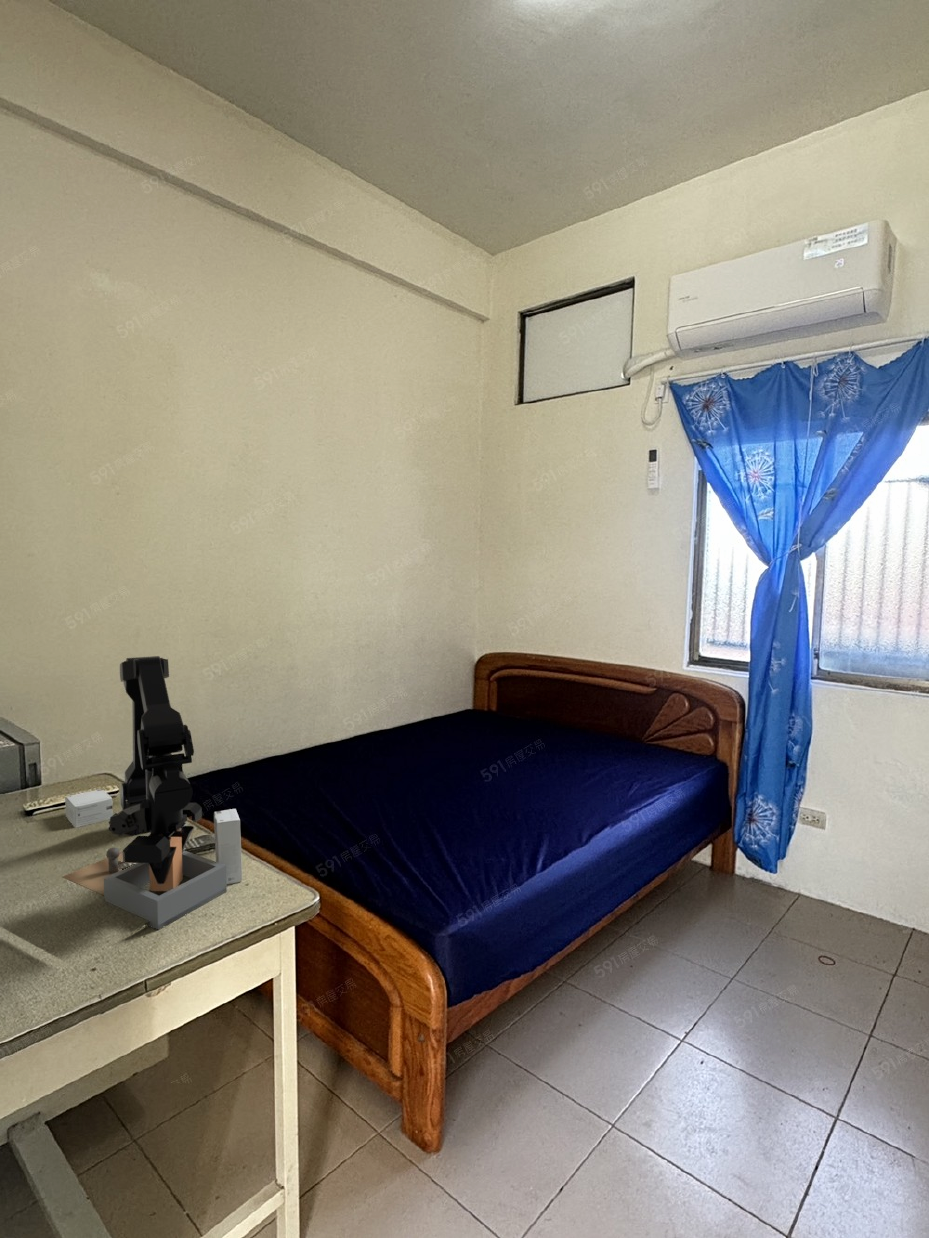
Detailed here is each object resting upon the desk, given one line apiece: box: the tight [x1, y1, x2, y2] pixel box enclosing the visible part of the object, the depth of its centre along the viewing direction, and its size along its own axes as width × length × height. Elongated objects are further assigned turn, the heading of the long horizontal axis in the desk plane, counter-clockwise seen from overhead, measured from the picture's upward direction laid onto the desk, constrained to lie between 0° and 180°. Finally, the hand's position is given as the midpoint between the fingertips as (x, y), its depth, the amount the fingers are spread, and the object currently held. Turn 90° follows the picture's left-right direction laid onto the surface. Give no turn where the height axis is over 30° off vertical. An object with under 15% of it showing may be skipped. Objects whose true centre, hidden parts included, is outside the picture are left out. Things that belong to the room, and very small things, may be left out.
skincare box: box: [213, 808, 243, 886], centre depth 124 cm, size 6×4×12 cm
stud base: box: [62, 846, 123, 896], centre depth 124 cm, size 12×12×6 cm
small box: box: [64, 788, 114, 829], centre depth 149 cm, size 8×8×5 cm
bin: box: [103, 849, 228, 931], centre depth 117 cm, size 14×14×5 cm
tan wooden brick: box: [149, 837, 184, 892], centre depth 116 cm, size 4×4×8 cm
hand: (166, 877), depth 116 cm, fingers closed on tan wooden brick, 4 cm apart
